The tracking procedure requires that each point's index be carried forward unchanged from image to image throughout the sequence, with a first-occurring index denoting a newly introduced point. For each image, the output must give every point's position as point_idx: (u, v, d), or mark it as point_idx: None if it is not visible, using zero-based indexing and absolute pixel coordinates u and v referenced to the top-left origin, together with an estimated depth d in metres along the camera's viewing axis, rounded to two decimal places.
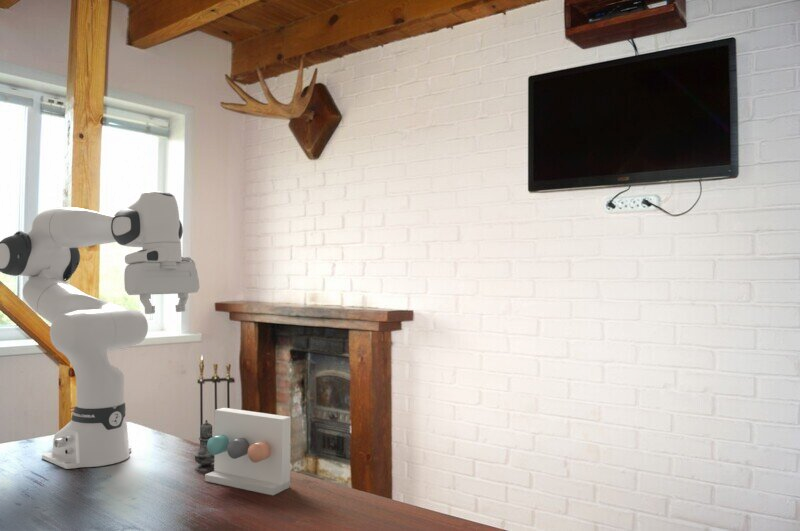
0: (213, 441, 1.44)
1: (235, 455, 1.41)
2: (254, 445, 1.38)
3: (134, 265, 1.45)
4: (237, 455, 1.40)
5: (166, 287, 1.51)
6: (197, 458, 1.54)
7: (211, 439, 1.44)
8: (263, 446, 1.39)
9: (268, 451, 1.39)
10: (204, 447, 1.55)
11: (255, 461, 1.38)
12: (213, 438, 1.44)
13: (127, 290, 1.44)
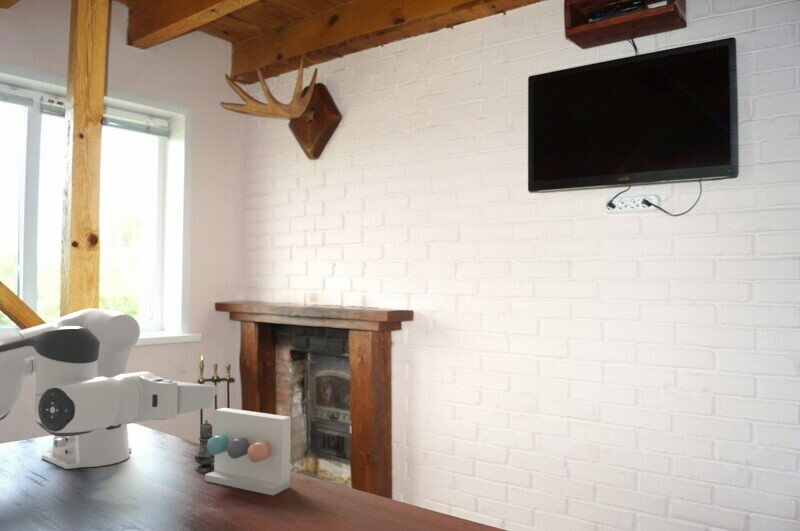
0: (213, 441, 1.44)
1: (235, 455, 1.41)
2: (254, 445, 1.38)
3: (183, 396, 1.11)
4: (237, 455, 1.40)
5: (177, 382, 1.19)
6: (197, 458, 1.54)
7: (211, 439, 1.44)
8: (263, 446, 1.39)
9: (268, 451, 1.39)
10: (204, 447, 1.55)
11: (255, 461, 1.38)
12: (213, 438, 1.44)
13: (212, 399, 1.15)
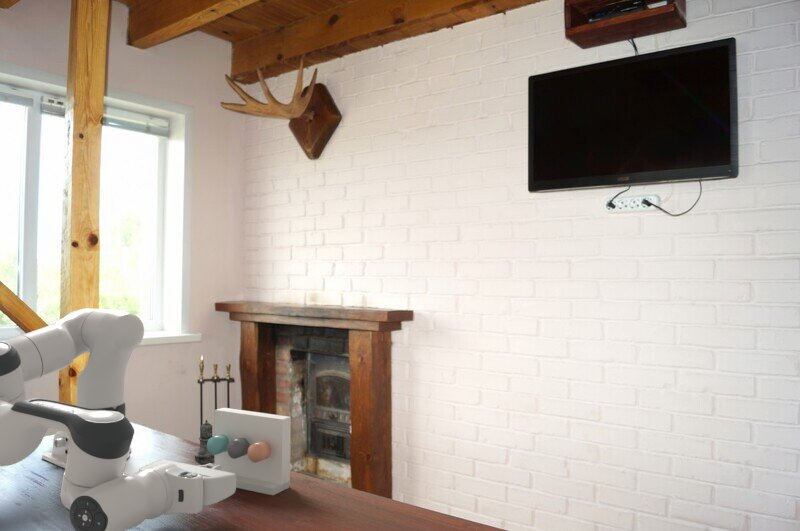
0: (213, 441, 1.44)
1: (235, 455, 1.41)
2: (254, 445, 1.38)
3: (208, 489, 1.13)
4: (237, 455, 1.40)
5: (198, 467, 1.22)
6: (197, 458, 1.54)
7: (211, 439, 1.44)
8: (263, 446, 1.39)
9: (268, 451, 1.39)
10: (204, 447, 1.55)
11: (255, 461, 1.38)
12: (213, 438, 1.44)
13: (234, 488, 1.18)
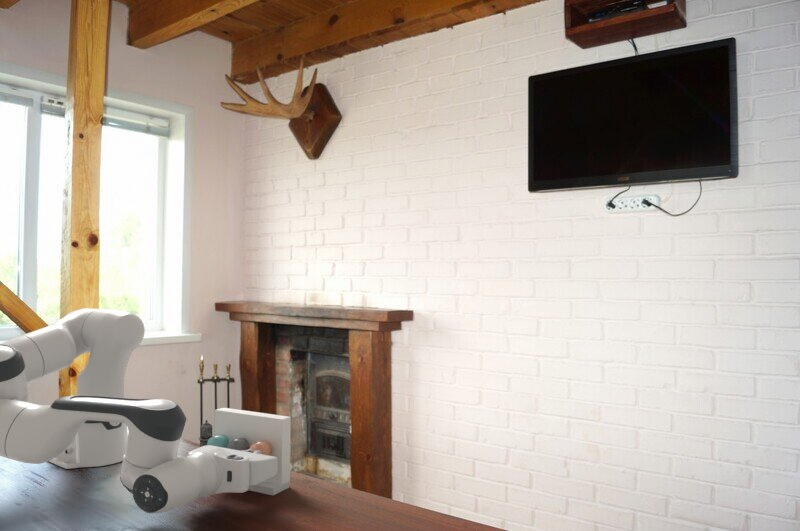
0: (213, 441, 1.44)
1: None
2: (256, 444, 1.39)
3: (254, 470, 1.24)
4: None
5: (241, 452, 1.33)
6: None
7: (211, 439, 1.44)
8: (265, 446, 1.39)
9: (270, 450, 1.40)
10: None
11: None
12: (213, 438, 1.44)
13: (276, 470, 1.29)
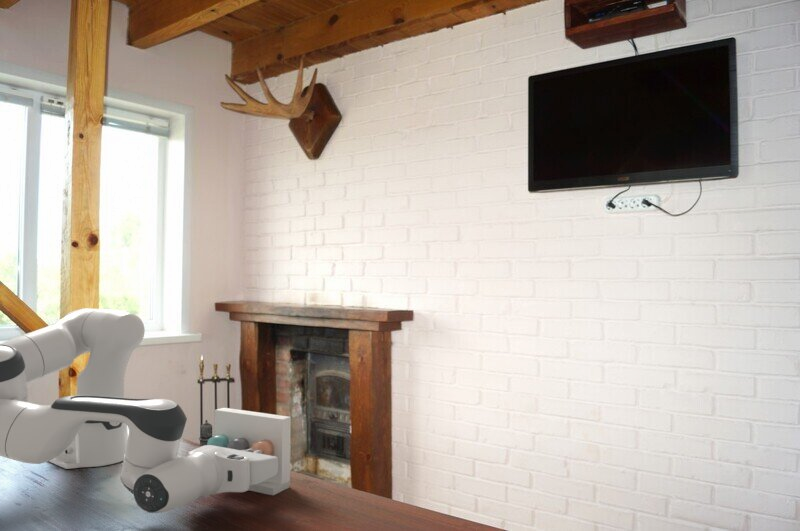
0: (213, 441, 1.44)
1: None
2: (257, 444, 1.39)
3: (254, 470, 1.25)
4: None
5: (241, 451, 1.33)
6: None
7: (211, 439, 1.44)
8: (267, 445, 1.40)
9: (272, 450, 1.40)
10: None
11: None
12: (213, 438, 1.44)
13: (276, 469, 1.29)
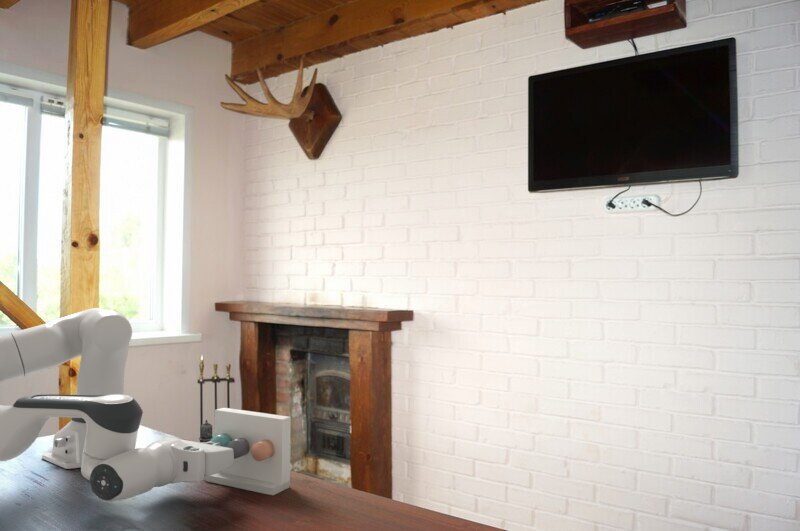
0: (216, 441, 1.44)
1: (235, 455, 1.41)
2: (257, 444, 1.39)
3: (209, 461, 1.30)
4: (237, 455, 1.40)
5: (200, 444, 1.38)
6: None
7: (214, 438, 1.45)
8: (267, 445, 1.40)
9: (272, 450, 1.40)
10: None
11: (258, 460, 1.39)
12: (216, 437, 1.44)
13: (232, 461, 1.35)
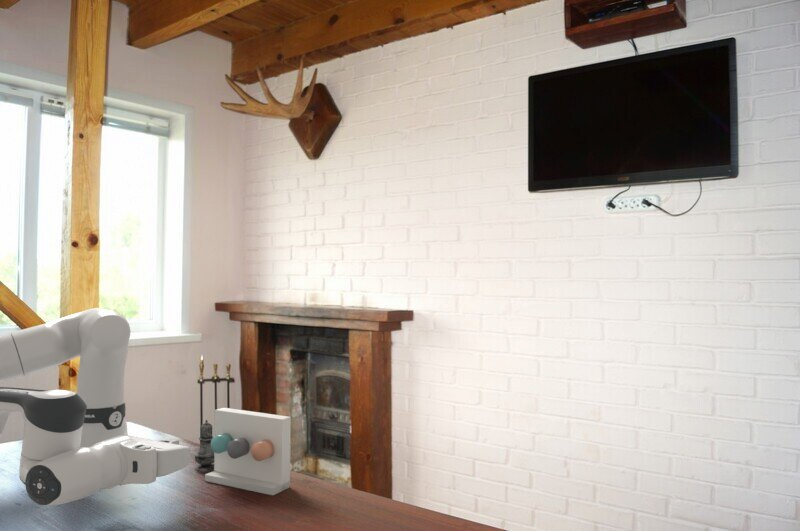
0: (217, 440, 1.45)
1: (235, 455, 1.41)
2: (257, 444, 1.39)
3: (161, 460, 1.19)
4: (237, 455, 1.40)
5: (154, 442, 1.27)
6: (197, 458, 1.54)
7: (215, 438, 1.45)
8: (267, 445, 1.40)
9: (272, 450, 1.40)
10: (204, 447, 1.55)
11: (258, 460, 1.39)
12: (217, 437, 1.45)
13: (188, 460, 1.23)
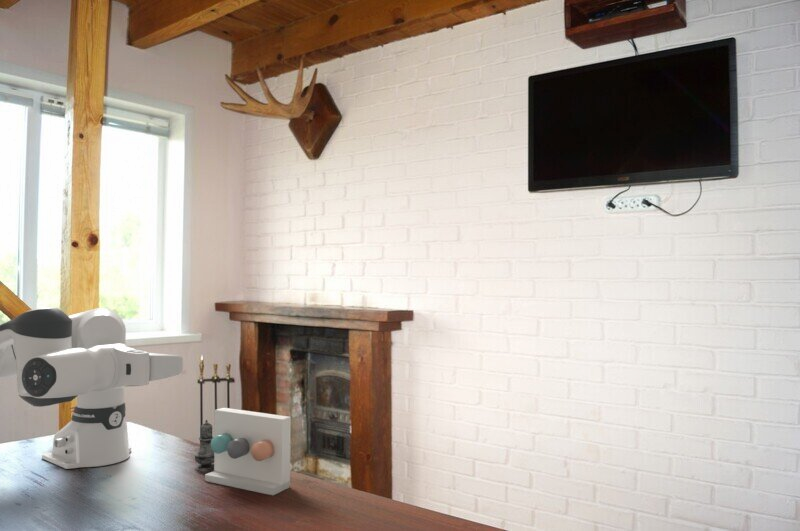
0: (217, 440, 1.45)
1: (235, 455, 1.41)
2: (257, 444, 1.39)
3: (154, 365, 1.23)
4: (237, 455, 1.40)
5: (148, 353, 1.31)
6: (197, 458, 1.54)
7: (215, 438, 1.45)
8: (267, 445, 1.40)
9: (272, 450, 1.40)
10: (204, 447, 1.55)
11: (258, 460, 1.39)
12: (217, 437, 1.45)
13: (181, 368, 1.27)
